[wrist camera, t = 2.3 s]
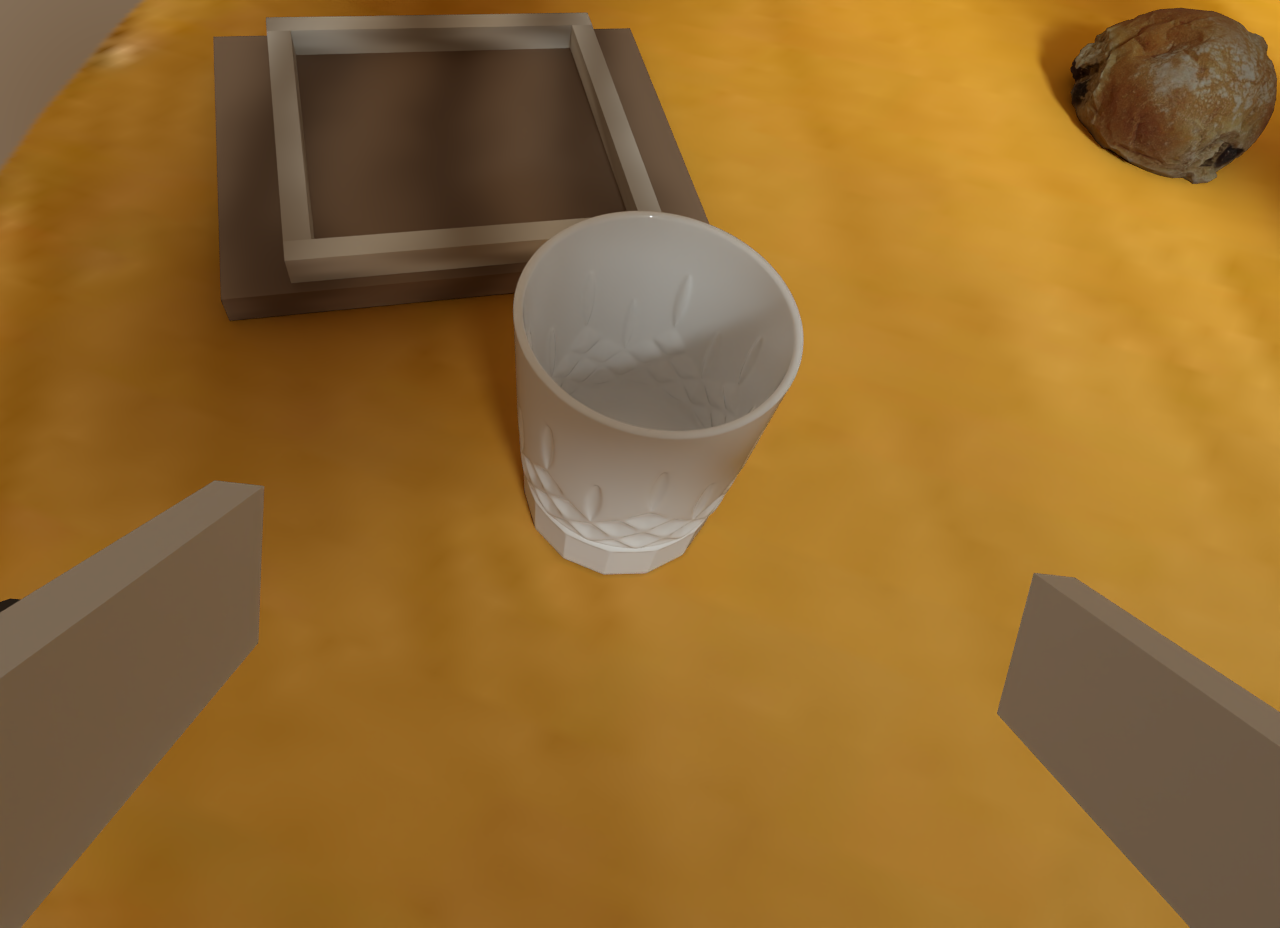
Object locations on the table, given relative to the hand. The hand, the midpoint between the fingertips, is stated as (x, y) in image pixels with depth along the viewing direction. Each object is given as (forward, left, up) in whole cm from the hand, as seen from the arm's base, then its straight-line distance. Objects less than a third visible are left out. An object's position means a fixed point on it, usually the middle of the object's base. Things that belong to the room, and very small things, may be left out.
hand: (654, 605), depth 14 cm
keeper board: (0, -27, -14) cm, 31 cm away
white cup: (-3, -9, -14) cm, 17 cm away
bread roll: (-39, -27, -14) cm, 50 cm away
